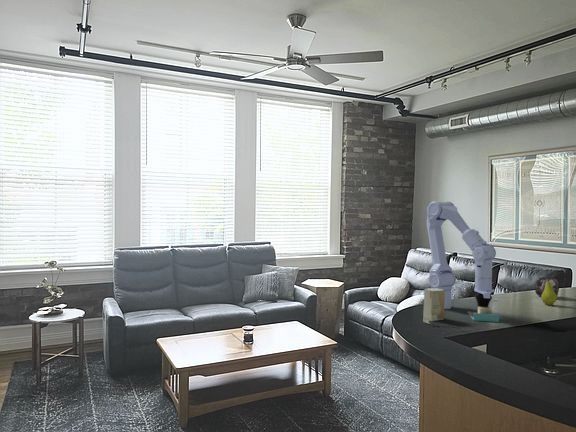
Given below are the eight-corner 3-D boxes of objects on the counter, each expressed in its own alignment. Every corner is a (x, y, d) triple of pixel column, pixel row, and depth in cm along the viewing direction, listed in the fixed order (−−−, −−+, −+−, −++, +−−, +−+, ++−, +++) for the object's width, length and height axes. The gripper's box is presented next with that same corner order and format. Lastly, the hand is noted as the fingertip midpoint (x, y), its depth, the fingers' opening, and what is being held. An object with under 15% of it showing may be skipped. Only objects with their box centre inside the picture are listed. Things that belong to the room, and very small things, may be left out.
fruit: (559, 306, 197) (560, 278, 197) (545, 306, 197) (546, 278, 197) (551, 303, 203) (552, 276, 203) (538, 303, 203) (539, 276, 203)
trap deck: (466, 315, 179) (467, 305, 179) (489, 316, 178) (490, 306, 177) (473, 324, 165) (473, 313, 165) (498, 326, 164) (499, 315, 164)
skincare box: (431, 325, 164) (432, 290, 163) (422, 322, 168) (423, 288, 167) (444, 323, 167) (445, 289, 166) (435, 320, 171) (436, 287, 170)
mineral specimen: (532, 294, 215) (534, 273, 218) (536, 299, 223) (537, 279, 226) (557, 296, 209) (558, 275, 212) (559, 301, 217) (560, 281, 220)
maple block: (479, 319, 166) (480, 308, 166) (477, 317, 170) (477, 306, 170) (491, 320, 165) (492, 309, 165) (489, 317, 169) (489, 307, 169)
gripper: (499, 281, 163) (498, 319, 163) (490, 275, 177) (489, 310, 177) (478, 280, 164) (477, 318, 165) (471, 274, 178) (470, 309, 179)
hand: (482, 314), depth 171 cm, fingers closed
